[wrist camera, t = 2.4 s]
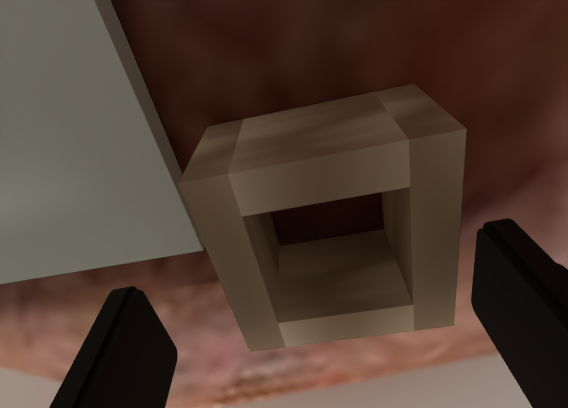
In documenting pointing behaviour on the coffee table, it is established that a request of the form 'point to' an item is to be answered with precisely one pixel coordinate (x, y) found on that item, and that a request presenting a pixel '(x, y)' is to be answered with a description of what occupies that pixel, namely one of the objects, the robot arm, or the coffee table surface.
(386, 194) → the ring
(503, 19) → the coffee table surface
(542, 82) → the coffee table surface
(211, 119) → the coffee table surface
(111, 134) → the post block
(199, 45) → the coffee table surface
